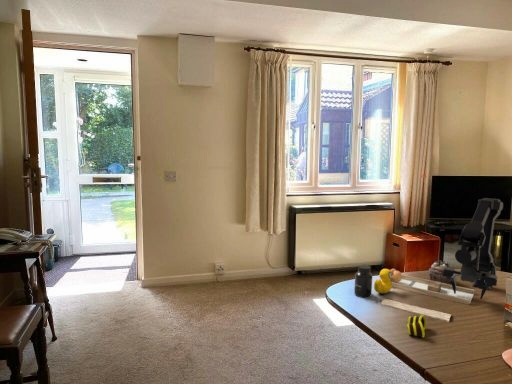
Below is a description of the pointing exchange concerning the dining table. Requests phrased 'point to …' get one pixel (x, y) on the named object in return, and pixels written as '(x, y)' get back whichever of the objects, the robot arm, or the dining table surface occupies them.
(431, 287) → the paddle block
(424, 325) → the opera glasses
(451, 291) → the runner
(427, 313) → the beige long flat bar
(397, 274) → the ball
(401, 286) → the lane rails
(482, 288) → the robot arm
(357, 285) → the supplement bottle
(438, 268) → the cupcake
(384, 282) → the duckling
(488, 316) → the dining table surface
